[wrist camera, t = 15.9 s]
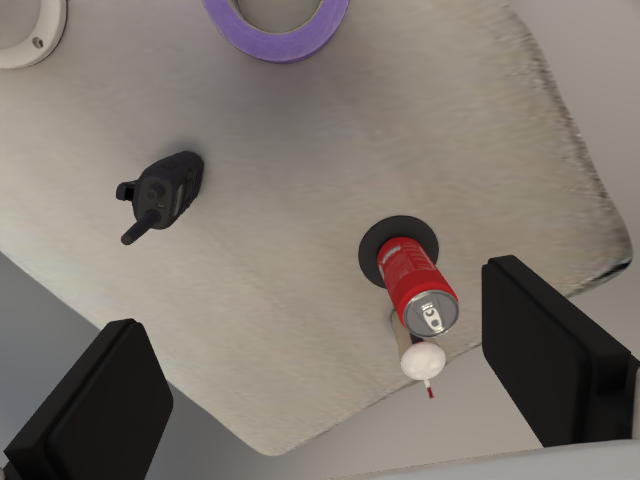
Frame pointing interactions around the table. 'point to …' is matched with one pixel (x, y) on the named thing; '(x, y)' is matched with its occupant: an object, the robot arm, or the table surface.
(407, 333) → the milkshake
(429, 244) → the coaster
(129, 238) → the two-way radio
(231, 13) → the tape roll
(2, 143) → the table surface
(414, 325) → the beverage can
